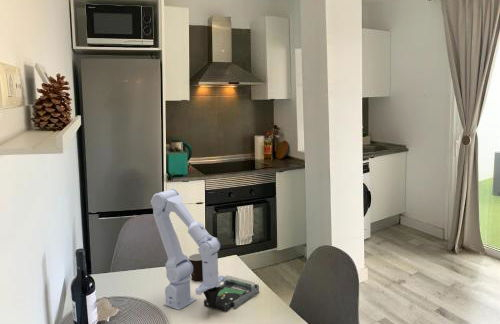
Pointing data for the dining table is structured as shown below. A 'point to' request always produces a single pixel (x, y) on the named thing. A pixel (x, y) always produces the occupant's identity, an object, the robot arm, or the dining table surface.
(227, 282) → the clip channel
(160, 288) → the dining table surface
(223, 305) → the disk drive
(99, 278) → the dining table surface
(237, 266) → the dining table surface
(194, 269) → the coffee mug
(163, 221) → the robot arm
